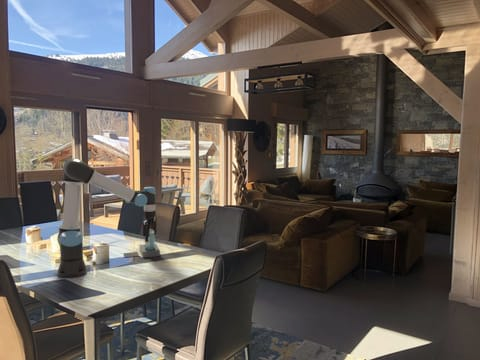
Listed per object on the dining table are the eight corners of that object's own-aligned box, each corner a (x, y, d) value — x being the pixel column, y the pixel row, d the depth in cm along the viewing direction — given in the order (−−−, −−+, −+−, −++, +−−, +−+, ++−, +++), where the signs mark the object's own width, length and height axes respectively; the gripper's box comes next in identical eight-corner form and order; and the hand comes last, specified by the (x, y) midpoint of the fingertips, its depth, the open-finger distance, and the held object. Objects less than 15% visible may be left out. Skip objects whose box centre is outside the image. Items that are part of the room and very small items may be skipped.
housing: (159, 256, 247) (159, 250, 247) (142, 257, 243) (142, 251, 243) (155, 249, 263) (155, 243, 263) (139, 250, 259) (139, 244, 259)
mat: (124, 257, 243) (124, 257, 243) (123, 253, 251) (123, 253, 251) (138, 256, 246) (138, 255, 246) (137, 252, 254) (137, 251, 254)
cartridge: (151, 255, 246) (151, 230, 244) (144, 254, 248) (144, 230, 246) (155, 252, 251) (155, 229, 249) (148, 252, 253) (148, 228, 251)
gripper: (147, 213, 237) (147, 249, 239) (161, 208, 254) (162, 242, 256) (136, 212, 239) (137, 248, 241) (152, 207, 256) (152, 241, 258)
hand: (150, 245), depth 249 cm, fingers closed on cartridge, 5 cm apart
